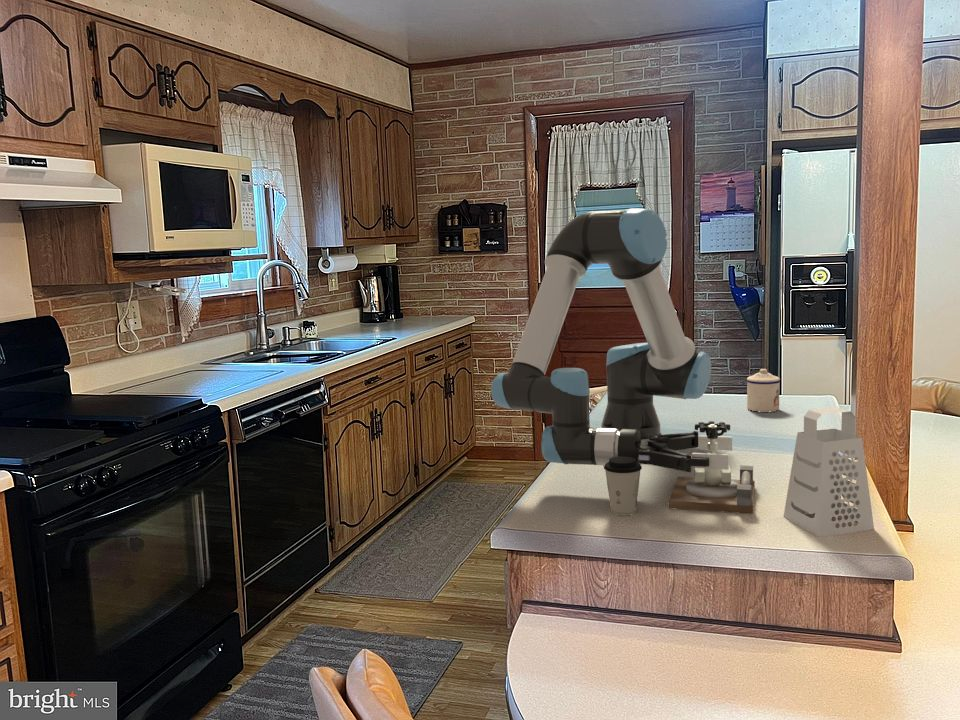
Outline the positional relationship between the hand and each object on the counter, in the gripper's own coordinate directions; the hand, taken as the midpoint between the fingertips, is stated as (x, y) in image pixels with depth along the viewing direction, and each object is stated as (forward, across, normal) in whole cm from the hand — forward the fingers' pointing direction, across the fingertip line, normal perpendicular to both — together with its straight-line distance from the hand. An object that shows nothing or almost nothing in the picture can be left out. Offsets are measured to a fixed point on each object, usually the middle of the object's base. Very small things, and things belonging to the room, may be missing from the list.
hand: (730, 452), depth 158 cm
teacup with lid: (+5, -85, -9) cm, 86 cm away
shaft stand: (-3, 0, -9) cm, 10 cm away
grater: (+17, +10, -9) cm, 22 cm away
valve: (-3, 0, -7) cm, 8 cm away
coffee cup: (-19, +12, -9) cm, 24 cm away
